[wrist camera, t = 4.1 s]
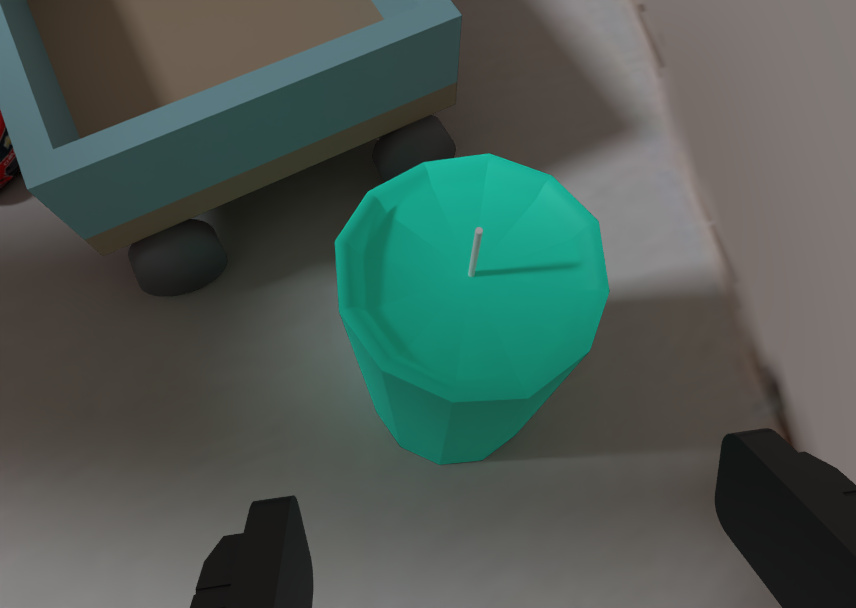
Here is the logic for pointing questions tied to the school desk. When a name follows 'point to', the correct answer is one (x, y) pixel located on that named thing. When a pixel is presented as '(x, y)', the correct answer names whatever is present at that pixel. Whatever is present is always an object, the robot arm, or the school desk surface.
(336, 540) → the school desk surface
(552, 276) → the candle
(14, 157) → the race car
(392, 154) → the cart
